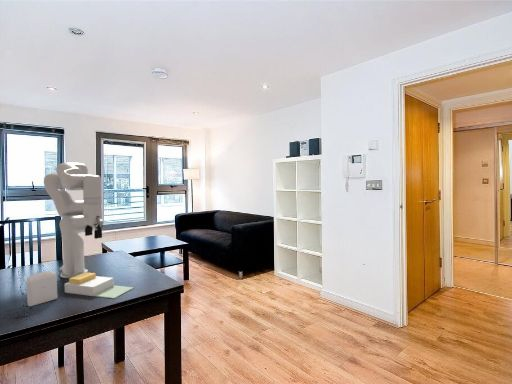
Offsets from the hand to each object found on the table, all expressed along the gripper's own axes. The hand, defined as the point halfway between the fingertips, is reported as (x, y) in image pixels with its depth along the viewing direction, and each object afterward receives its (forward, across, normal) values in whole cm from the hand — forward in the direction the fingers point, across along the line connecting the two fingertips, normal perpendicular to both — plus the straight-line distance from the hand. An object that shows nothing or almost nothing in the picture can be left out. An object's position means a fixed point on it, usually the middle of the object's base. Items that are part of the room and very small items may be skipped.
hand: (93, 236), depth 137 cm
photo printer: (+24, +3, -22) cm, 32 cm away
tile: (+19, +1, -6) cm, 20 cm away
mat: (+23, +17, +1) cm, 29 cm away
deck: (+23, +5, -4) cm, 24 cm away
